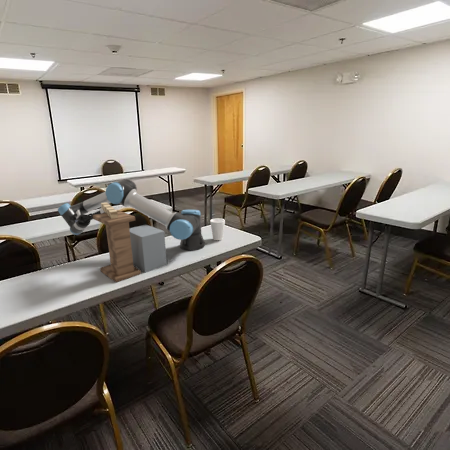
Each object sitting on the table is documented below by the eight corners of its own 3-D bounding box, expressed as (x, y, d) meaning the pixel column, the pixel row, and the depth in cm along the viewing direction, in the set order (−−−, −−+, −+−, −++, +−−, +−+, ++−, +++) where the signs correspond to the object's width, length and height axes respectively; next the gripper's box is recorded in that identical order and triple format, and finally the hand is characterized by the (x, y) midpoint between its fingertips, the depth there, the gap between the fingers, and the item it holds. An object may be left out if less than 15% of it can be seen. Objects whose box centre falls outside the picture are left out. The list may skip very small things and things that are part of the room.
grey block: (166, 265, 169) (164, 231, 164) (145, 272, 161) (141, 237, 155) (149, 256, 182) (146, 224, 176) (128, 262, 173) (124, 229, 168)
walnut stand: (140, 274, 159) (134, 216, 151) (116, 282, 151) (108, 222, 142) (124, 263, 172) (117, 210, 163) (100, 271, 163) (92, 215, 154)
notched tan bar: (118, 217, 149) (117, 211, 148) (111, 218, 147) (110, 212, 146) (107, 207, 169) (106, 202, 168) (101, 208, 167) (101, 203, 166)
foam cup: (217, 242, 201) (216, 223, 198) (207, 239, 208) (207, 220, 204) (228, 239, 207) (227, 220, 204) (219, 236, 214) (218, 217, 210)
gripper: (104, 223, 195) (116, 212, 179) (61, 232, 179) (70, 220, 163) (100, 212, 196) (112, 200, 180) (57, 220, 179) (65, 207, 163)
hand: (92, 209), depth 171 cm, fingers open, 13 cm apart
